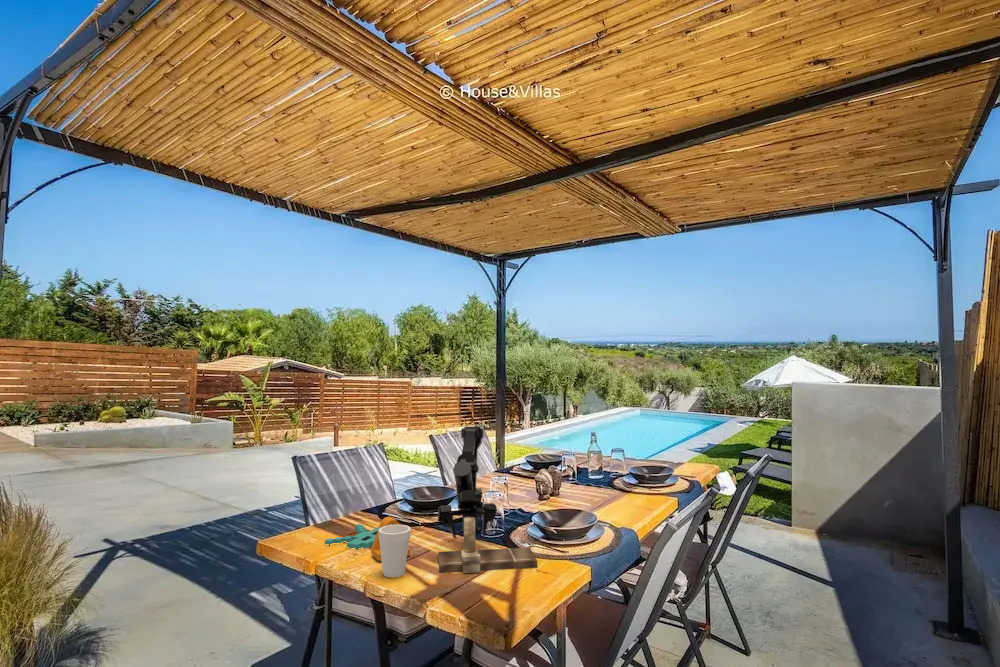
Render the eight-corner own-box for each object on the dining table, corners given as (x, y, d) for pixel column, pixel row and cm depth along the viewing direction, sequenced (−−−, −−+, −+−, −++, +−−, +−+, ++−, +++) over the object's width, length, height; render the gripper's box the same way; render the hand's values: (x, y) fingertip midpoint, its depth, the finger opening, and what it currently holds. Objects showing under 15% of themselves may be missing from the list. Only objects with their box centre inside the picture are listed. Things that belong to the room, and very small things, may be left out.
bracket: (378, 563, 166) (379, 524, 167) (371, 556, 172) (371, 519, 173) (410, 557, 172) (411, 519, 173) (402, 550, 178) (403, 514, 179)
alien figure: (324, 546, 183) (375, 553, 176) (324, 540, 183) (375, 547, 176) (358, 530, 202) (404, 535, 195) (358, 524, 202) (405, 529, 195)
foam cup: (371, 575, 157) (372, 530, 158) (393, 565, 165) (394, 522, 165) (394, 582, 152) (395, 536, 153) (416, 572, 159) (417, 528, 160)
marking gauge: (463, 573, 158) (463, 526, 159) (460, 560, 168) (461, 516, 169) (480, 572, 159) (480, 525, 160) (476, 560, 169) (476, 516, 170)
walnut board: (439, 572, 159) (439, 565, 159) (438, 558, 171) (438, 551, 171) (537, 567, 164) (537, 560, 164) (529, 553, 175) (529, 547, 176)
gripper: (439, 480, 171) (441, 525, 160) (495, 478, 175) (502, 522, 163) (436, 499, 178) (439, 543, 167) (491, 497, 182) (497, 540, 170)
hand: (469, 536), depth 167 cm, fingers open, 9 cm apart
